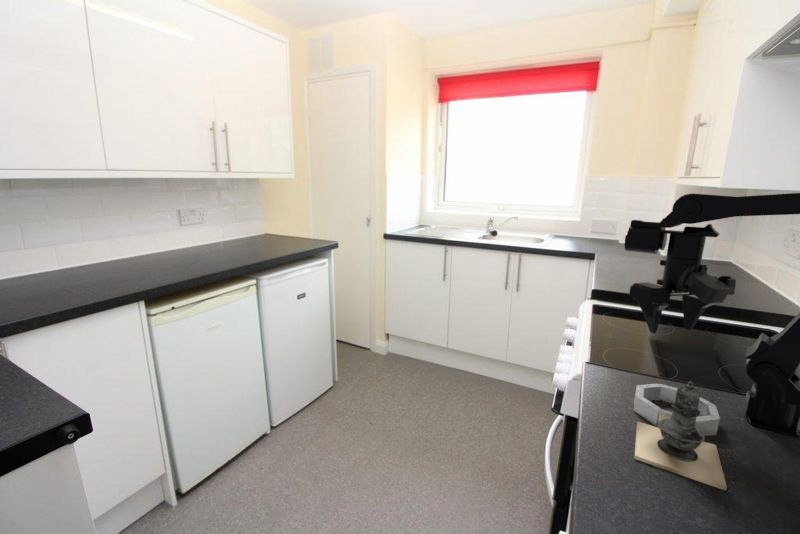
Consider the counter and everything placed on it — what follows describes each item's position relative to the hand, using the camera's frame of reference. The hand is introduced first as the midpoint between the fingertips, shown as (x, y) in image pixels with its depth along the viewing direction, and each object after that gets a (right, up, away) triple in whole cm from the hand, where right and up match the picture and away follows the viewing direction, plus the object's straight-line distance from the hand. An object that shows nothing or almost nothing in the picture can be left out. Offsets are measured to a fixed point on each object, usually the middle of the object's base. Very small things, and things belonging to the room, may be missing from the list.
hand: (670, 331), depth 78 cm
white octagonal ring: (-5, -15, -8) cm, 17 cm away
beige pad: (-12, -16, -18) cm, 27 cm away
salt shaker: (-12, -16, -18) cm, 27 cm away
